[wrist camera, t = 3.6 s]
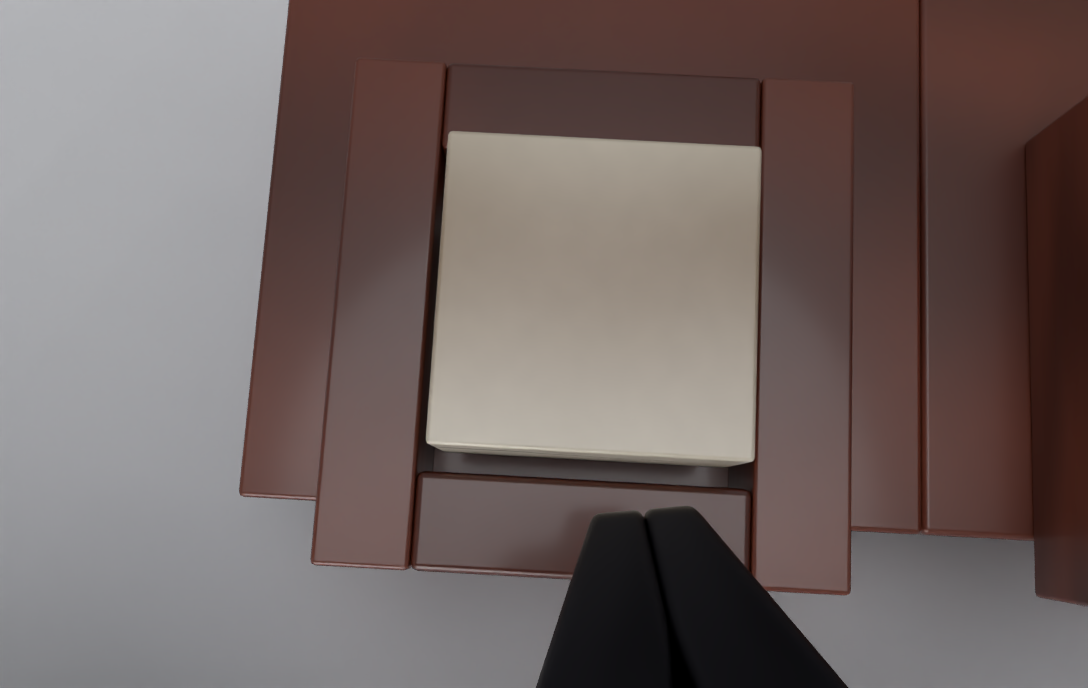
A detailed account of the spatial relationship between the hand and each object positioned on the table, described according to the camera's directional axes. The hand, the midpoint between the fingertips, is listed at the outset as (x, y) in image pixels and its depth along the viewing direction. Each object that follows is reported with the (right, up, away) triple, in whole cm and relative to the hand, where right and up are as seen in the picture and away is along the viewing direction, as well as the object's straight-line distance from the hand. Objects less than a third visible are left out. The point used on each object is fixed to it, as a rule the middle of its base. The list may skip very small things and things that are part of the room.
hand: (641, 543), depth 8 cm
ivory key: (0, +2, +5) cm, 5 cm away
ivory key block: (0, +3, +11) cm, 12 cm away
